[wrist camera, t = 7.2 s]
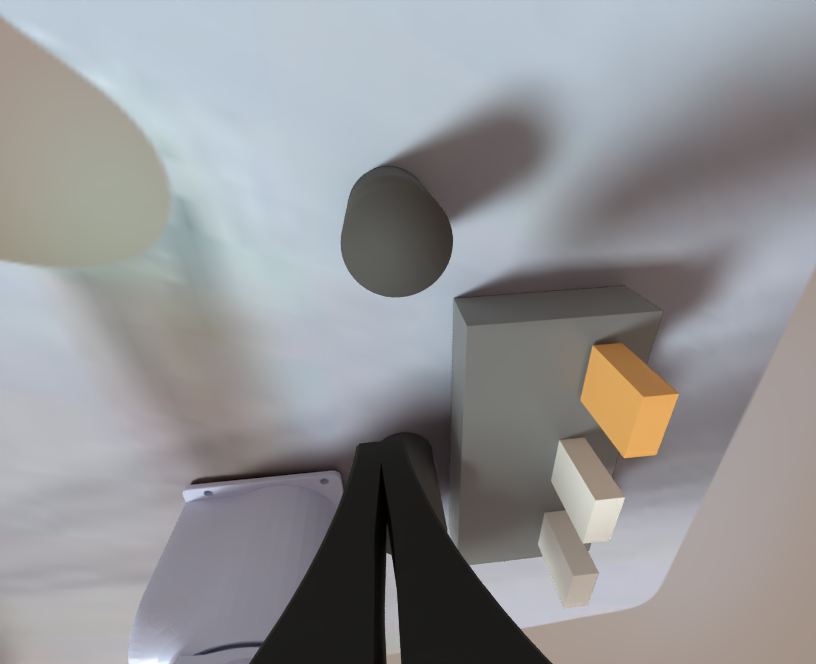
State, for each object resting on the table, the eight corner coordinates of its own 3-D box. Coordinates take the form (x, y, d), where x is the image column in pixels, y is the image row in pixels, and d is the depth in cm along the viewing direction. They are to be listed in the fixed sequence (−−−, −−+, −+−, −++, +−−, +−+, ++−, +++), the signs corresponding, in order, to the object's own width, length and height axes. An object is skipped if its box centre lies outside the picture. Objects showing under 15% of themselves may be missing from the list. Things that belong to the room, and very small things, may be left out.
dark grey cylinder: (352, 252, 18) (347, 300, 13) (343, 168, 16) (333, 190, 12) (429, 247, 18) (451, 293, 14) (428, 164, 17) (454, 183, 12)
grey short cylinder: (376, 477, 25) (379, 561, 21) (372, 435, 24) (373, 517, 19) (431, 471, 26) (447, 553, 21) (431, 430, 24) (447, 508, 19)
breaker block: (448, 525, 28) (470, 632, 23) (453, 298, 20) (491, 376, 14) (568, 511, 29) (620, 613, 23) (625, 285, 20) (731, 355, 14)
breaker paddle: (580, 400, 20) (624, 458, 16) (592, 345, 18) (643, 396, 15) (607, 397, 20) (656, 454, 16) (621, 342, 18) (679, 393, 15)
